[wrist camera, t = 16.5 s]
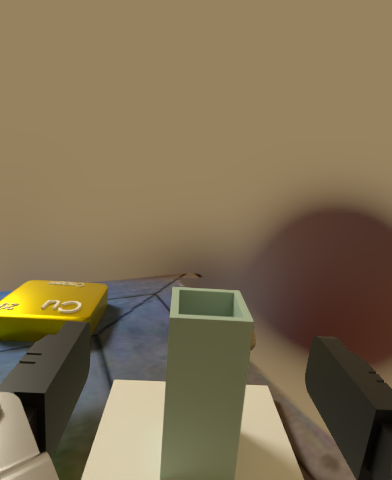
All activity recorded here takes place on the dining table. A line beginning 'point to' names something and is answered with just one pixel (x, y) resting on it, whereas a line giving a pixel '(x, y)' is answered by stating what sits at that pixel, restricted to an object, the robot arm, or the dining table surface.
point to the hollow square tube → (205, 383)
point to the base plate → (151, 429)
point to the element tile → (50, 308)
